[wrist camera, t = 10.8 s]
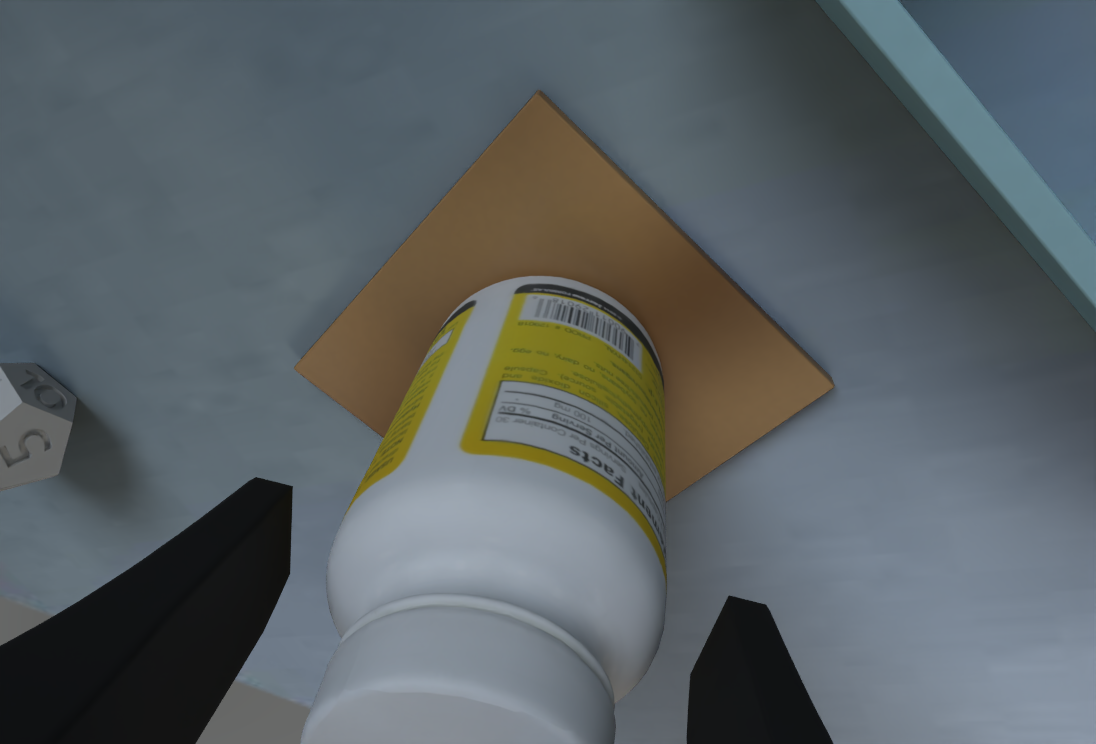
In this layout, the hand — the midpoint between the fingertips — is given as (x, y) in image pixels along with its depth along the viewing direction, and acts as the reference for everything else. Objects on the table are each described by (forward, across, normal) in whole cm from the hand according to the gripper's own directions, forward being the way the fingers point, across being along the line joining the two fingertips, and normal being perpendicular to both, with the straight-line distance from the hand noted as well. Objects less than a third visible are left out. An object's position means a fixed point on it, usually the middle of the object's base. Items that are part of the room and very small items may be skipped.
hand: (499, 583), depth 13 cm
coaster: (+7, 0, 0) cm, 7 cm away
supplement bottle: (+7, 0, 0) cm, 7 cm away
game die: (+7, +13, +5) cm, 16 cm away
